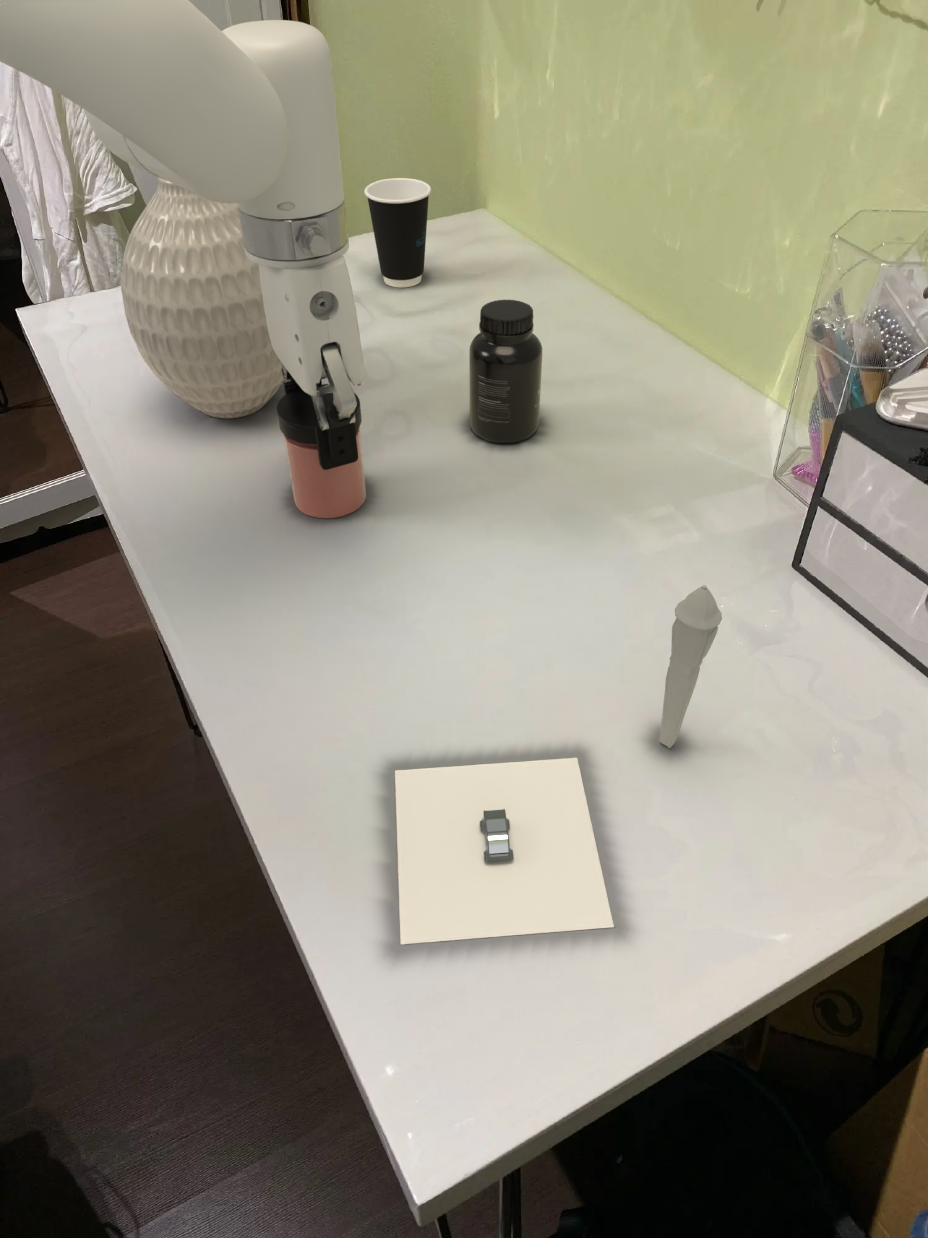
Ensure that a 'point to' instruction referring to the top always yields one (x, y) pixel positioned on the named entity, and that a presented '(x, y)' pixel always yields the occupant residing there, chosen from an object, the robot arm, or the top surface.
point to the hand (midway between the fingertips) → (323, 440)
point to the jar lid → (305, 415)
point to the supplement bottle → (505, 373)
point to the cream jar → (324, 481)
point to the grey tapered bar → (687, 657)
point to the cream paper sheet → (496, 852)
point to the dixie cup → (399, 228)
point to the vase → (198, 304)
